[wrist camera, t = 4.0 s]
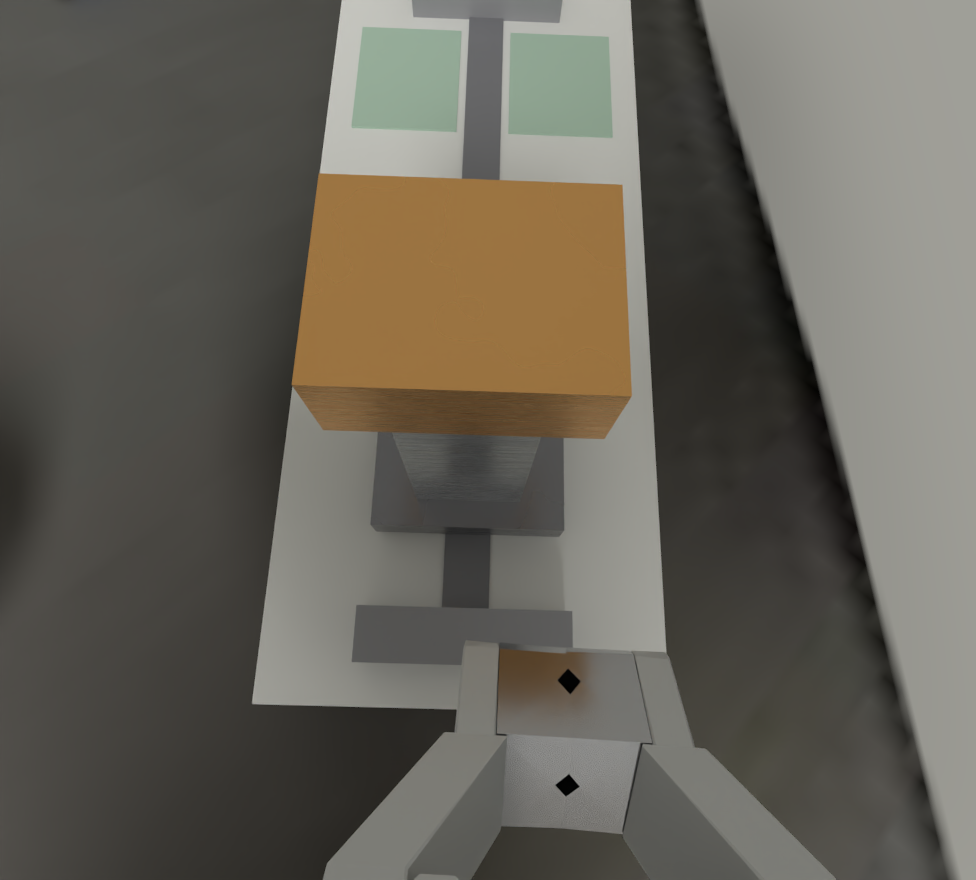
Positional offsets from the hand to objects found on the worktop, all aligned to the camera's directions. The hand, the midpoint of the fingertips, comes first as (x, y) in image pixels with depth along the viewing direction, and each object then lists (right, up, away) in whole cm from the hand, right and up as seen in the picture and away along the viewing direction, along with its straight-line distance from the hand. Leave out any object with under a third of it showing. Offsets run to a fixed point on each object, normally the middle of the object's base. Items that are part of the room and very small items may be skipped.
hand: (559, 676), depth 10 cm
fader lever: (-2, +3, +11) cm, 11 cm away
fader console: (-1, +9, +15) cm, 18 cm away
